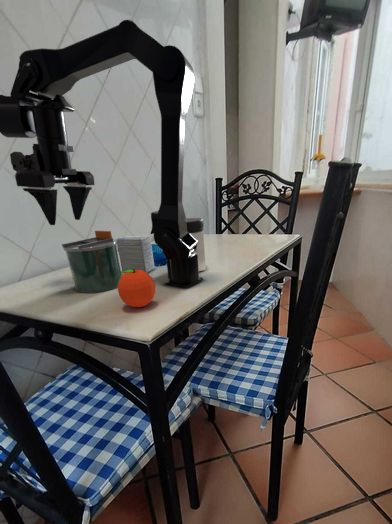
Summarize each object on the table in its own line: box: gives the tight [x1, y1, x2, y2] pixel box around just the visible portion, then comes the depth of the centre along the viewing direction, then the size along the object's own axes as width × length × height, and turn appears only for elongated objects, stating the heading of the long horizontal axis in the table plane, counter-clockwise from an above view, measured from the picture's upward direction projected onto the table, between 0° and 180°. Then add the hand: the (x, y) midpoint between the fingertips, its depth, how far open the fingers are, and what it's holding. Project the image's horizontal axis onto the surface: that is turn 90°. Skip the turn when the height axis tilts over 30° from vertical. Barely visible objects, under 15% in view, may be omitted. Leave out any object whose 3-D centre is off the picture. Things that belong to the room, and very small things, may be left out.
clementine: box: [114, 269, 156, 308], centre depth 58 cm, size 8×7×7 cm
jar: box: [186, 217, 207, 273], centre depth 79 cm, size 9×8×12 cm
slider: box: [81, 230, 113, 244], centre depth 71 cm, size 5×5×2 cm
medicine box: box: [115, 235, 156, 273], centre depth 82 cm, size 8×4×9 cm, turn 66°
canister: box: [61, 236, 123, 294], centre depth 72 cm, size 12×12×10 cm
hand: (65, 222), depth 70 cm, fingers open, 9 cm apart
